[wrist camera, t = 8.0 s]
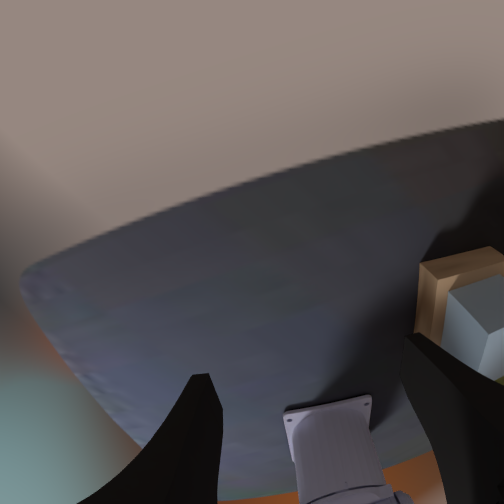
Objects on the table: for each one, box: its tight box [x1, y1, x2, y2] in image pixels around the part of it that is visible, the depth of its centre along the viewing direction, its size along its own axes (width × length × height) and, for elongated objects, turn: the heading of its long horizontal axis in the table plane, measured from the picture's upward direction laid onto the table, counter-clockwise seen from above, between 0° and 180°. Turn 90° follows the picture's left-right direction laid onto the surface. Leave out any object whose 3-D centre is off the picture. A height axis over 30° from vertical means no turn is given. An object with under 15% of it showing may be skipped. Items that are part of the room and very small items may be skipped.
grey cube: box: [440, 274, 504, 381], centre depth 16 cm, size 5×5×5 cm
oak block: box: [414, 246, 504, 346], centre depth 20 cm, size 7×7×3 cm
